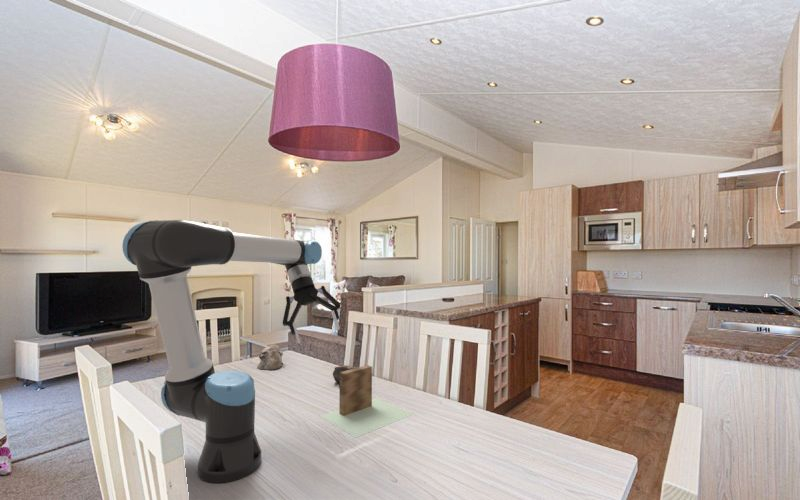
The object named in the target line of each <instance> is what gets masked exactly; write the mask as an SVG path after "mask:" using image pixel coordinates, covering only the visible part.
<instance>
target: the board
mask: <svg viewBox="0 0 800 500" xmlns="http://www.w3.org/2000/svg"><path fill="white" fill-rule="evenodd" d="M357 367H358V368H354V369H351V370H347V371H343V372H340V383H339V406H338V407H339V409H338V410H339V414H341V415H343V416H345V415H348V414H351V413H353V412H356V411H359V410H362V409H365V408H368V407H371V406H372V399H373V396H372V395H373V391H372V390H373V386H372V385H373V369H372V368H373V366H371V365H368V364H367V365H362V366H360V367H359V366H357Z"/></svg>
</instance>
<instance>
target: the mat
mask: <svg viewBox="0 0 800 500" xmlns="http://www.w3.org/2000/svg"><path fill="white" fill-rule="evenodd" d="M412 415H414V414H413V413H411V412H409V411H407V410H405V409H402V408H400V407H397V406H396V405H393V404H391V403H389V402H386V401H384V400H382V399H380V398H377V397H372V406H371V407H368V408H365V409H362V410H359V411H356V412H353V413H351V414H348V415H345V416H343V415H341V414H339V409H337V410H334V411H331V412H327V413H325V414H322V415H319V417H320V418H322V419H323V420H325V421H327V422H329V423H330V424H332V425H334V426H335V427H336V428H337V429H340V430H342V431H343V432H345V433H347V434H348V435H350V436H352V437H353V438H359V437H360V436H364V435H366V434H369V433H370V432H373V431H376V430H378V429H380V428H383V427H385V426H388V425H390V424H392V423H395V422H397V421H401V420H403V419H404V418H407V417H410V416H412Z"/></svg>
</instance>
